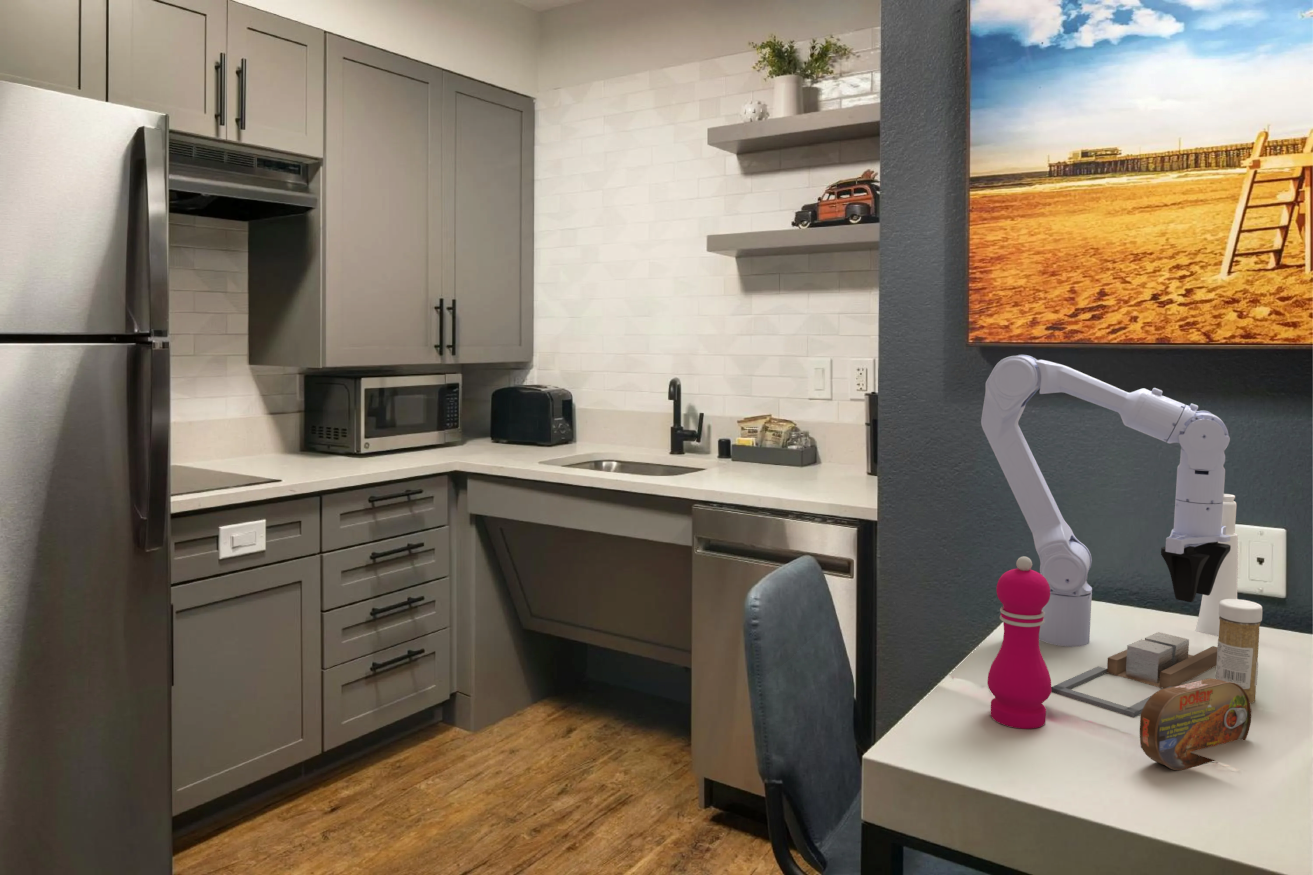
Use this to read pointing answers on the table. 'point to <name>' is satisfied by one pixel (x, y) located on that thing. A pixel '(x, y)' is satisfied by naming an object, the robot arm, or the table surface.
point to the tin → (1193, 721)
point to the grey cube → (1172, 645)
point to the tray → (1085, 677)
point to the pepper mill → (1020, 650)
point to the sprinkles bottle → (1239, 644)
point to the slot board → (1172, 674)
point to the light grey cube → (1148, 660)
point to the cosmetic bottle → (1221, 575)
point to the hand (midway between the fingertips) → (1192, 596)
